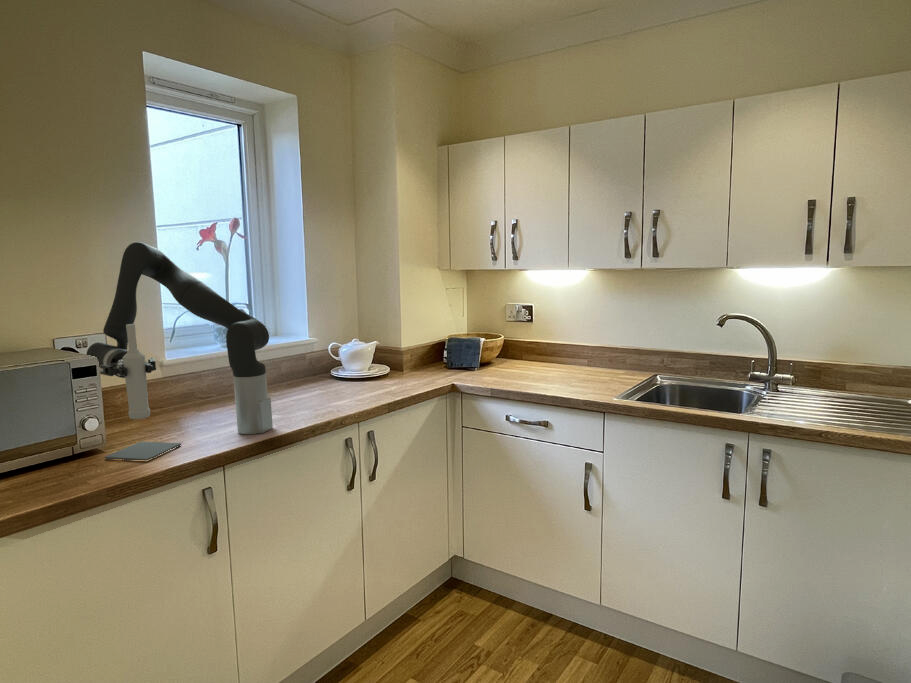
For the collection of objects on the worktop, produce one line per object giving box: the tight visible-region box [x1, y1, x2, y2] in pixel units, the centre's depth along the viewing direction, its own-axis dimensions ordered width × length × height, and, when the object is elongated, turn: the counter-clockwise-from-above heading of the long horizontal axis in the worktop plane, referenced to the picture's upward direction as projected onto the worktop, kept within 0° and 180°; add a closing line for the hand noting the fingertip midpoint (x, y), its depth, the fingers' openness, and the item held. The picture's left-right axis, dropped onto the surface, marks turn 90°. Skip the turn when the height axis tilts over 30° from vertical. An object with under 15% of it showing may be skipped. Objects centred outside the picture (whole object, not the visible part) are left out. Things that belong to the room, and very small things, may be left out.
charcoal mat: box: [104, 441, 182, 460], centre depth 156 cm, size 13×13×1 cm
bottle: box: [123, 323, 151, 420], centre depth 153 cm, size 5×5×25 cm
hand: (137, 370), depth 151 cm, fingers closed on bottle, 5 cm apart
